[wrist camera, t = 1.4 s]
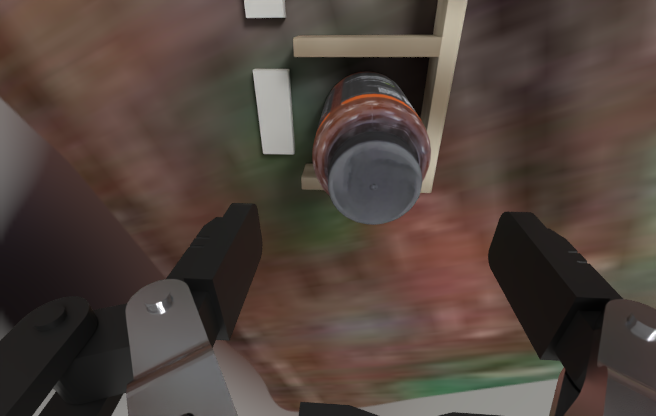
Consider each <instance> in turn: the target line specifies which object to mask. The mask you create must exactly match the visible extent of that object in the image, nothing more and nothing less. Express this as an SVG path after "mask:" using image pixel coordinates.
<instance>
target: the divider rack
mask: <svg viewBox="0 0 656 416" xmlns="http://www.w3.org/2000/svg"><path fill="white" fill-rule="evenodd" d="M467 1H468V0H438V4H437V11H436V18H435V24H434V31H433V35H299V36H297V37H294V38H293V48H294V57H430V58H429V65H428V71H427V78H426V85H425V92H424V98H423V105H422V112H421V121H422V123H423V124H424V126H425V128H426V131H427V134H428V136H429V140H430V147H431V160H430V165H429V168H428V171H427V174H426V176H425V178H424V180H423V182H422V187H421V192H420V193H431V190H432V185H433V179H434V174H435V169H436V164H437V158H438V153H439V148H440V143H441V137H442V132H443V127H444V122H445V116H446V111H447V106H448V101H449V95H450V90H451V85H452V80H453V74H454V69H455V64H456V59H457V53H458V48H459V43H460V38H461V32H462V27H463V22H464V17H465V11H466V6H467ZM301 181H302V189H305V190H324V189H323V188H322V186H321V185H320V183H319V181H318V179H317V177H316V174H315V171H314V167H313V164H306V165H305V168H304V171H303V174H302V177H301Z"/></svg>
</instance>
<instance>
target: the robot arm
mask: <svg viewBox="0 0 656 416" xmlns="http://www.w3.org/2000/svg"><path fill="white" fill-rule="evenodd" d="M261 254H262V236H261V230H260V223H259V216H258V210H257V206H256V205H255V204H245V203H232V204H231V205H230V207H229V208H228V210H227V211H226V213H225V214H224V216H223V217H216V218H214V219H213V220H212V221H210V222H209V223H207V224H206V225H204V226H203V228H202V229H201V231H200V232H199V233H198V235H197V236H196V239H194V240H193V242H192V243H191V245H190V247H188V249H187V250H186V252H185V253H184V254H183V256H182V257H181V259H180V260H179V262H178V263H177V264H176V266H175V267H174V269H173V270H172V271H171V273H170V274H169V276H168V277H167V278H166V279H165V280H160V281H157V282H154V283H151V284H149V285H147V286H145V287H143V288H142V289H140V290H139V291H138V292H137V293H135V294H134V295H133V297H132V298H131V299H130V300H129V302H128V303H127V304H122V305H118V306H113V307H107V308H102V309H98V310H92V309H91V306H90V305H89V303H88V302H87V301H86V299H84V298H81V297H65V298H61V299H57V300H54V301H51V302H49V303H46V304H44V305H42V306H41V307H38V308H37V309H35V310H34V311H32V312H31V313H29V314H28V315H27V316H25V318H23V319H22V320H21V321H20V322H19V323H18V324H17V325H16V326H15V327H14V328H13V329H12V330H11V331H10V332H9V333H8V334H7V335H6V336H5V337H4V338H3V339H2V340H1V341H0V416H32V415H33V414H34V413H35V411H36V410H37V408H38V407H39V406H40V405H41V403H42V402H43V401H44V399H45V398H46V397H47V395H48V394H49V393H50V391H51V390H52V389H53V388H54V389H55V390H56V392H55V394H54V395H53V397H52V398H51V399H50V401H49V402H48V403H47V405H46V406H45V407H44V409H43V410H42V412H41V413H40V414H39V416H111V415H112V413H113V412H114V410H115V408H116V406H117V404H118V403H119V401H120V399H121V397H122V395H123V393H126V394H127V406H128V416H238V415H237V412H236V410H235V407H234V404H233V402H232V399H231V396H230V394H229V391H228V388H227V386H226V383H225V380H224V378H223V375H222V372H221V370H220V367H219V364H218V362H217V359H216V357H215V354H214V351H213V349H212V348H213V345H214V343H215V341H216V340H230V338H231V335H232V332H233V330H234V327H235V324H236V322H237V319H238V317H239V314H240V311H241V309H242V306H243V303H244V301H245V298H246V295H247V293H248V290H249V288H250V285H251V282H252V280H253V277H254V274H255V272H256V269H257V267H258V264H259V261H260V259H261ZM488 260H489V266H490V268H491V270H492V272H493V274H494V276H495V278H496V279H497V281H498V283H499V285H500V287H501V289H502V290H503V292H504V294H505V296H506V298H507V300H508V302H509V303H510V305H511V307H512V309H513V311H514V313H515V314H516V316H517V318H518V320H519V322H520V324H521V325H522V327H523V329H524V331H525V333H526V335H527V336H528V338H529V340H530V342H531V344H532V346H533V347H534V349H535V351H536V353H537V355H538V357H539V358H540V360H558V361H561V363H562V365H563V366H564V368H563V370H562V371H561V373H560V375H559V378H558V382H557V386H556V390H555V395H554V398H553V402H552V407H551V410H550V415H549V416H656V309H654V308H652V307H650V306H648V305H645V304H642V303H639V302H636V301H632V300H626V299H623V298H622V297H621V296H620V295H619V294H618V293H617V292H616V291H615V290H614V289H613V288H612V287H611V286H610V285H609V284H608V282H607V281H606V280H605V279H604V278H603V277H602V276H601V275H600V274H599V273H598V272H597V271H596V270H595V269H594V268H593V267H592V266H591V265H590V264H587V260H586V259H585V258H584V257H583V256H582V255H581V254H580V253H577V250H576V249H575V248H574V247H573V246H572V245H571V244H570V243H569V242H568V241H567V240H566V239H565V238H564V237H562V236H560V235H559V234H557V233H556V232H554V231H552V230H551V229H547V228H546V227H545V226H544V225H543V223H542V222H541V221H540V220H539V219H538V218H537V217H536V216H535V215H534V214H533V213H530V212H504V213H503V214H502V215H501V217H500V219H499V222H498V225H497V228H496V231H495V234H494V237H493V240H492V243H491V246H490V249H489V253H488ZM299 416H378V415H375V414H372V413H369V412H367V411H364V410H361V409H358V408H356V407H353V406H350V405H338V404H323V403H309V402H300V410H299ZM440 416H498V415H484V414H469V413H455V412H452V413H448V414H444V415H440Z"/></svg>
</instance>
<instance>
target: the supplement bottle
mask: <svg viewBox="0 0 656 416" xmlns="http://www.w3.org/2000/svg"><path fill="white" fill-rule="evenodd" d="M430 160H431V147H430V140H429V136H428V134H427V131H426V128H425V126H424V124H423V123H422V121H421V119H420V117H419V116H418V114H417V113H416V112H415V110H414V109H413V107H412V105H411V104H410V102H409V101H408V99H407V98H406V96H405V95H404V93H403V92H402V90H401V89H400V88H399V86H398V85H397V84H396V83H395V82H394V81H393V80H391V79H390V78H388V77H387V76H385V75H383V74H380V73H376V72H368V71H365V72H357V73H354V74H351V75H349V76H347V77H345V78H344V79H342V80H341V81H340V82H339V83H337V84H336V85H335V86H334V87H333V89H332V90H331V92H330V93H329V95H328V97H327V99H326V102H325V104H324V108H323V111H322V115H321V118H320V121H319V125H318V128H317V132H316V136H315V140H314V144H313V154H312V161H313V167H314V171H315V174H316V177H317V179H318V181H319V183H320V185H321V186H322V188H323V189H324V190H325V191H326V193H327V194H328V195H329V196H330V198H331V200H332V202H333V204H334V205H335V207H336V208H337V209H338V210H339V211H340V212H341V213H342V214H343V215H344V216H346V217H347V218H349V219H351V220H354V221H356V222H359V223H364V224H382V223H386V222H390V221H393V220H395V219H397V218H399V217H401V216H402V215H404V214H405V213H406V212H408V211H409V210H410V209H411V208H412V206H413V205H414V204H415V202H416V201H417V199H418V197H419V195H420V192H421V187H422V182H423V180H424V178H425V176H426V174H427V171H428V168H429V165H430Z"/></svg>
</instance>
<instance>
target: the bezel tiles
mask: <svg viewBox="0 0 656 416" xmlns="http://www.w3.org/2000/svg"><path fill="white" fill-rule="evenodd" d="M244 5H245V13H246V18H286V10H285V0H244ZM253 76H254V84H255V92H256V100H257V108H258V116H259V124H260V132H261V140H262V148H263V154H294V153H295V142H294V127H293V113H292V98H291V83H290V69H254V70H253Z"/></svg>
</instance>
